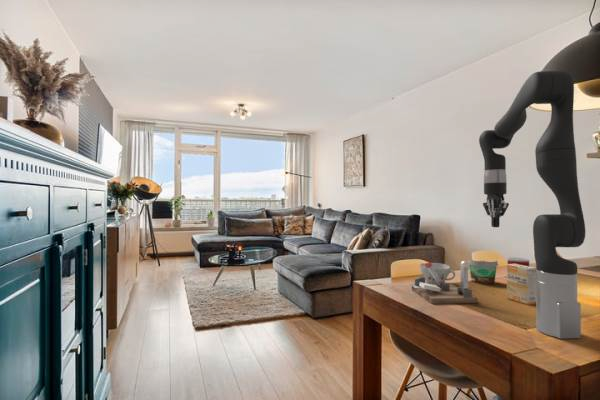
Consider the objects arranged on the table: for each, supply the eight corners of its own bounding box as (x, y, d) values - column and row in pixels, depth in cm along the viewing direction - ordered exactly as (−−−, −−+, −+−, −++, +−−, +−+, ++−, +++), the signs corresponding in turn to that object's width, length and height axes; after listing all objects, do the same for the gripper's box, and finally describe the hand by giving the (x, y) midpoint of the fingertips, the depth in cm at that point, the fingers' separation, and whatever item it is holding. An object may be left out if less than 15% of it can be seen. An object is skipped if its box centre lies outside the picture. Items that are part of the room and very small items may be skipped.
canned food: (532, 286, 143) (532, 260, 142) (511, 285, 144) (511, 260, 144) (524, 282, 150) (524, 257, 150) (504, 281, 152) (504, 257, 152)
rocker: (440, 291, 126) (440, 288, 126) (423, 288, 126) (424, 284, 126) (434, 288, 131) (435, 285, 131) (419, 285, 130) (419, 282, 130)
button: (426, 286, 135) (426, 278, 135) (417, 286, 135) (417, 278, 135) (422, 283, 139) (422, 276, 139) (413, 283, 139) (413, 276, 139)
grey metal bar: (470, 296, 122) (469, 261, 122) (463, 296, 122) (462, 262, 122) (465, 293, 125) (465, 260, 125) (458, 293, 125) (458, 260, 125)
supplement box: (506, 298, 125) (505, 264, 125) (515, 297, 127) (514, 263, 127) (527, 305, 118) (527, 268, 118) (537, 303, 119) (536, 267, 119)
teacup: (415, 283, 149) (414, 265, 149) (426, 278, 158) (425, 261, 158) (450, 289, 139) (450, 270, 139) (459, 283, 148) (459, 265, 148)
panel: (477, 302, 121) (477, 290, 121) (430, 303, 120) (430, 291, 120) (451, 288, 140) (450, 277, 140) (410, 289, 140) (410, 278, 140)
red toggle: (448, 287, 131) (430, 261, 131) (443, 290, 131) (425, 264, 131) (444, 285, 134) (427, 259, 134) (439, 288, 134) (422, 263, 134)
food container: (471, 284, 147) (471, 261, 147) (467, 280, 153) (467, 259, 153) (502, 285, 144) (502, 262, 144) (497, 282, 150) (497, 260, 150)
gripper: (516, 181, 122) (516, 228, 122) (494, 183, 135) (494, 225, 135) (496, 181, 121) (496, 228, 121) (475, 183, 135) (476, 226, 135)
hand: (495, 227), depth 128 cm, fingers closed
